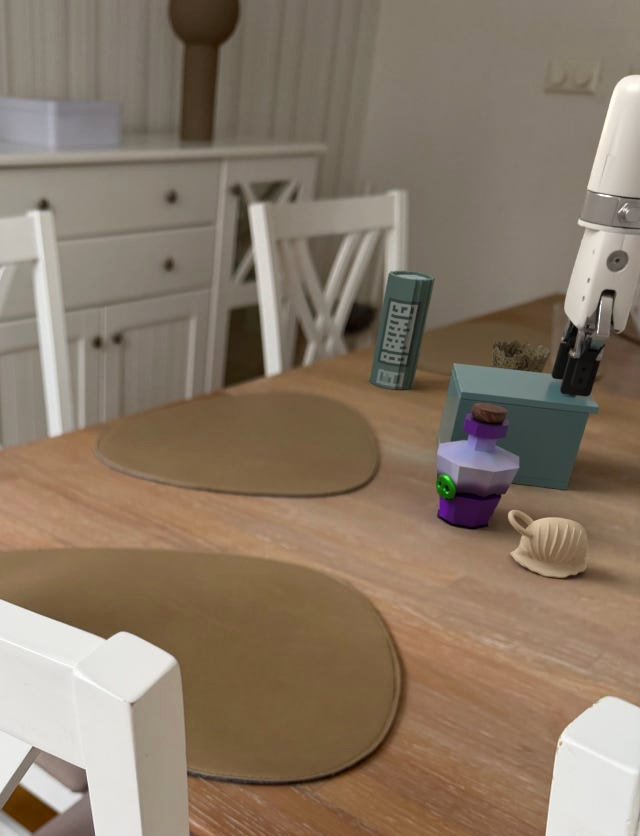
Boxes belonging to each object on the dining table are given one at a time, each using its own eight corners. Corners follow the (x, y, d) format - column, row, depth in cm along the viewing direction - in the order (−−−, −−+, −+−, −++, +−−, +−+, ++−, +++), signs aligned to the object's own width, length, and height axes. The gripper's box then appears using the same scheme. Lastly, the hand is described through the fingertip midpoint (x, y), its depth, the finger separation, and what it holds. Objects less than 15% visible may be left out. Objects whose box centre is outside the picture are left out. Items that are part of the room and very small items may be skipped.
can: (415, 380, 144) (436, 274, 136) (409, 392, 139) (431, 282, 131) (374, 374, 146) (393, 268, 138) (366, 384, 141) (386, 276, 133)
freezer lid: (577, 383, 116) (590, 339, 113) (597, 414, 106) (611, 366, 103) (452, 369, 117) (462, 325, 115) (459, 398, 108) (470, 351, 105)
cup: (469, 401, 137) (483, 343, 133) (497, 392, 141) (511, 336, 137) (517, 416, 132) (533, 357, 128) (544, 407, 137) (560, 349, 133)
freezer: (550, 454, 120) (570, 383, 116) (566, 490, 111) (589, 413, 106) (436, 440, 122) (452, 370, 117) (442, 474, 112) (459, 398, 108)
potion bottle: (406, 516, 102) (430, 403, 95) (443, 494, 107) (468, 386, 101) (484, 543, 97) (515, 427, 91) (518, 519, 103) (549, 408, 97)
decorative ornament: (587, 584, 91) (605, 531, 88) (495, 568, 92) (509, 516, 90) (583, 565, 94) (600, 514, 91) (494, 550, 96) (508, 500, 93)
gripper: (679, 229, 93) (620, 414, 103) (637, 205, 108) (589, 369, 117) (598, 222, 94) (547, 405, 104) (567, 199, 109) (525, 362, 118)
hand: (570, 385), depth 110 cm, fingers closed on freezer lid, 5 cm apart
